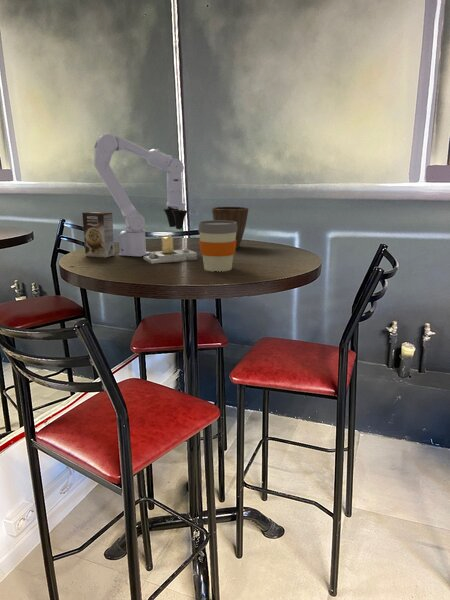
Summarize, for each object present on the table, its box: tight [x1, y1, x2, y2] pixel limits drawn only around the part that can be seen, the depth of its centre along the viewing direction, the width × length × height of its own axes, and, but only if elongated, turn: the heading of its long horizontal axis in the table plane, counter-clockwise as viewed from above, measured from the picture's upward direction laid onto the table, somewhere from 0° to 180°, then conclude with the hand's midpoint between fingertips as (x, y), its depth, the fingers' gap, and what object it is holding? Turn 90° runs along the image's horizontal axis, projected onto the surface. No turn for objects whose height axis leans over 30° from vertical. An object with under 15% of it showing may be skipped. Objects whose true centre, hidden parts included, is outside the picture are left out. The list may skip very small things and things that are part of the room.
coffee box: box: [81, 211, 115, 259], centre depth 174 cm, size 9×6×16 cm
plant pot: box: [211, 206, 249, 249], centre depth 192 cm, size 15×15×16 cm
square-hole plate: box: [143, 248, 198, 265], centre depth 168 cm, size 17×9×3 cm, turn 116°
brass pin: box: [161, 236, 174, 255], centre depth 167 cm, size 4×4×8 cm
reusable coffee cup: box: [197, 220, 237, 273], centre depth 151 cm, size 13×13×15 cm
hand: (175, 227), depth 180 cm, fingers open, 7 cm apart
